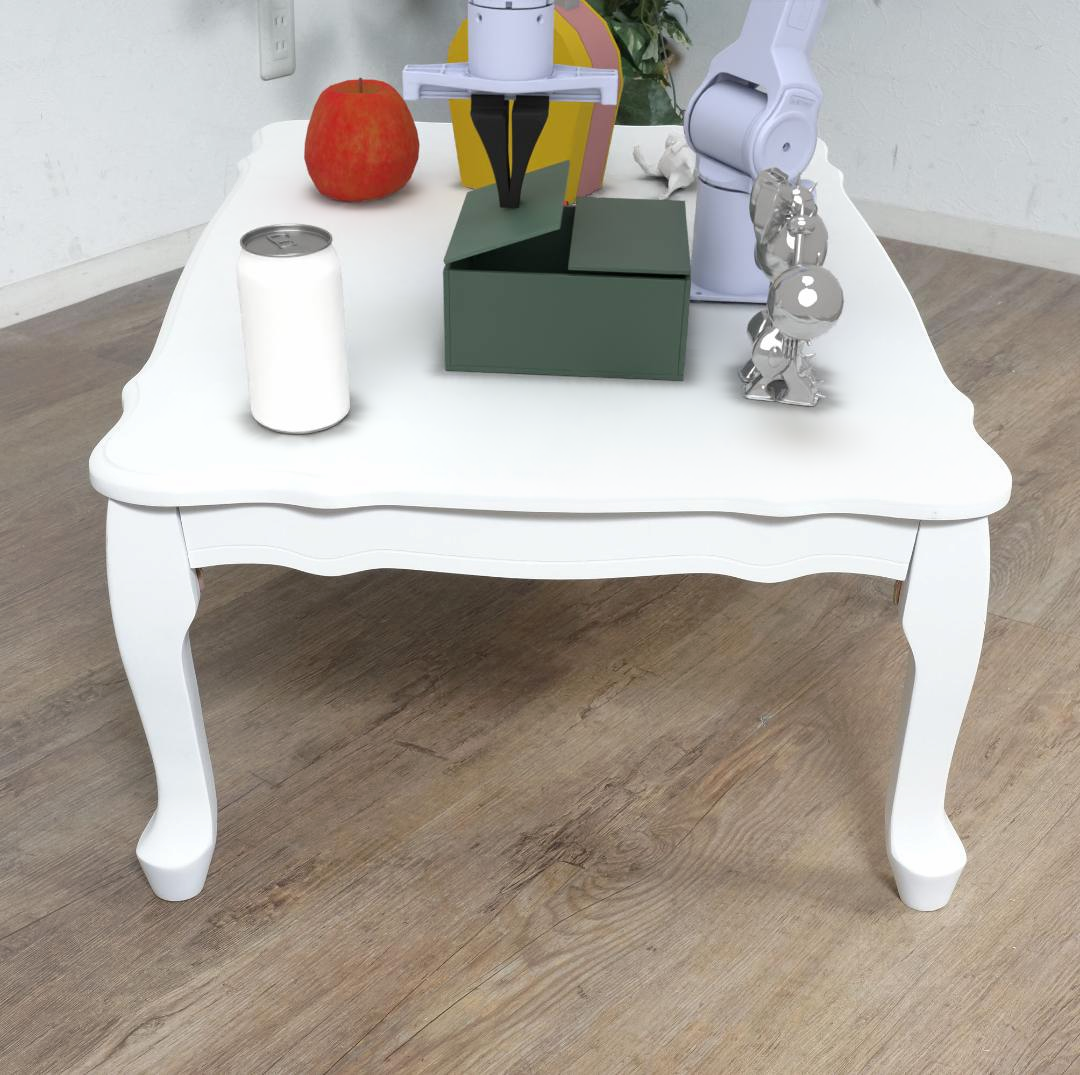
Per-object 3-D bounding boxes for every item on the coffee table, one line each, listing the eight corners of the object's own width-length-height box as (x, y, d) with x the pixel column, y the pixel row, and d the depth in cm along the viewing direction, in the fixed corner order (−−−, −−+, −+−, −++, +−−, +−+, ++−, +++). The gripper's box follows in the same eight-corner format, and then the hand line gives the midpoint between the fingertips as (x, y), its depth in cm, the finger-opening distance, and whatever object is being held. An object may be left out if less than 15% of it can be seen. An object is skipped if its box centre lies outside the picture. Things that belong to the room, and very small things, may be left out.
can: (269, 444, 84) (250, 264, 77) (239, 403, 88) (219, 229, 82) (365, 424, 86) (354, 247, 80) (331, 385, 91) (318, 215, 85)
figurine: (623, 180, 125) (627, 142, 135) (676, 218, 127) (676, 178, 137) (661, 128, 122) (663, 94, 132) (715, 168, 124) (713, 131, 134)
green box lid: (560, 229, 87) (558, 224, 87) (444, 264, 89) (442, 260, 89) (570, 163, 100) (569, 159, 100) (468, 195, 102) (467, 192, 101)
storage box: (683, 380, 93) (692, 271, 88) (445, 370, 93) (442, 261, 89) (678, 300, 105) (685, 200, 101) (468, 291, 106) (466, 191, 101)
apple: (417, 211, 122) (413, 93, 116) (299, 210, 122) (290, 92, 116) (424, 176, 131) (421, 65, 125) (314, 174, 131) (306, 63, 125)
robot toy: (839, 448, 85) (876, 221, 77) (743, 444, 85) (769, 217, 77) (811, 351, 97) (839, 148, 89) (727, 348, 97) (747, 145, 89)
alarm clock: (620, 189, 129) (631, -12, 119) (577, 211, 123) (584, 2, 113) (494, 162, 135) (493, -31, 125) (447, 182, 129) (443, -18, 119)
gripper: (619, -8, 90) (610, 188, 97) (407, -13, 90) (414, 183, 98) (622, 13, 84) (612, 220, 91) (395, 8, 84) (403, 214, 92)
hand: (510, 203), depth 94 cm, fingers closed
